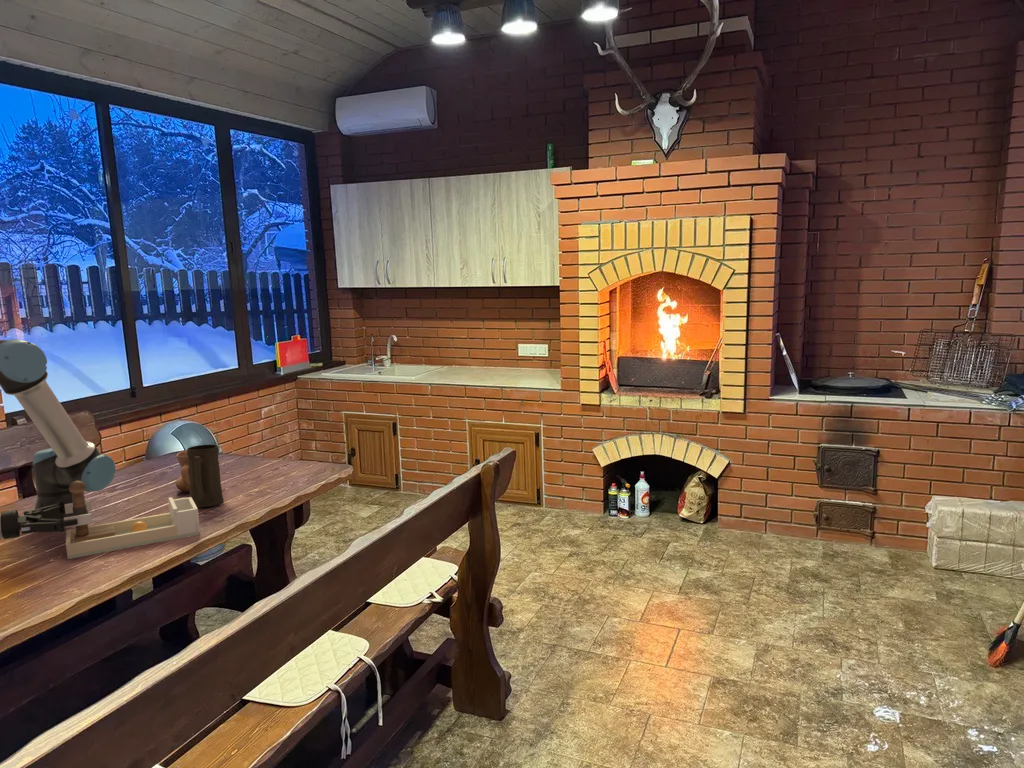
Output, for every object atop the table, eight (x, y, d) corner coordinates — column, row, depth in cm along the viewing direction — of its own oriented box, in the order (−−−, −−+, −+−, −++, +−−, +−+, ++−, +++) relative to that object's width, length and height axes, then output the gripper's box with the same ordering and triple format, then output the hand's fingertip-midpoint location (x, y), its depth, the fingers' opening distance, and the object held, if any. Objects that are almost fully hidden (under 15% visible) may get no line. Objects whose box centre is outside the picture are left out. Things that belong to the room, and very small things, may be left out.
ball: (132, 533, 213) (130, 521, 212) (147, 531, 215) (145, 518, 214) (133, 537, 209) (131, 525, 209) (148, 535, 211) (146, 522, 211)
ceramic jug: (191, 482, 268) (188, 446, 266) (228, 483, 267) (225, 446, 265) (164, 497, 251) (160, 458, 248) (203, 498, 249) (200, 459, 247)
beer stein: (190, 501, 246) (185, 444, 243) (224, 497, 250) (219, 441, 247) (187, 514, 232) (182, 455, 229) (223, 510, 236) (218, 452, 233)
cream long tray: (68, 543, 209) (64, 513, 207) (193, 521, 226) (190, 493, 225) (67, 559, 197) (64, 528, 195) (199, 534, 214) (197, 505, 213)
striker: (75, 542, 206) (68, 480, 203) (114, 535, 211) (108, 474, 208) (75, 548, 202) (68, 484, 199) (115, 541, 207) (109, 478, 204)
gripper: (6, 525, 205) (91, 511, 216) (-2, 554, 184) (93, 537, 195) (3, 500, 204) (89, 488, 214) (-6, 526, 183) (90, 511, 193)
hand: (91, 511), depth 205 cm, fingers open, 13 cm apart
